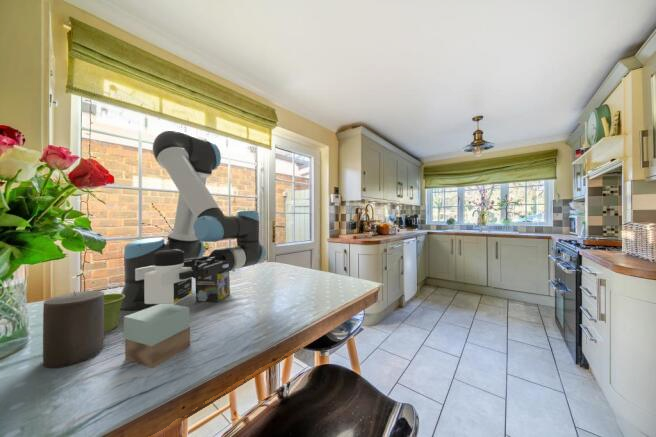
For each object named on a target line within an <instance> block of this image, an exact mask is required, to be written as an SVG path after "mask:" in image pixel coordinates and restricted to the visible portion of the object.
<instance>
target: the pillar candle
mask: <svg viewBox="0 0 656 437" xmlns="http://www.w3.org/2000/svg"><path fill="white" fill-rule="evenodd" d="M104 295H105V291H100V290H84V291H83V290H82V291H75V290H74V291H73V292H69V293H66V294H60V295H56V296H53V297H50V298H48V299H46V300H44V301H43V310H42V311H43V313H42V318H43V319H42V322H43V323H42V360H43V361H42V362H43V363H42V366H43V367H44V368H48V369H49V368H52V369H55V368H57V369H58V368H64V367H65V368H66V367H68V366H72V365H76V364H79V363H82V362H84V361H87V360H89V359H91V358H93V357H95V356H97V355H98V354H100V353H101V352H102V351H103V349H104V348H105V343H104V342H105V340H104V339H105V336H104V335H105V334H104V333H105V332H104Z"/></svg>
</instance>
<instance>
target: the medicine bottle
mask: <svg viewBox="0 0 656 437" xmlns="http://www.w3.org/2000/svg"><path fill="white" fill-rule="evenodd" d="M182 266H184V252H183V251H181V250H177V249H172V250H162V251H158V252H156V253H155V254H154V269H156V270H155V271H151V272H148V273H145V274H144V303H145V304H174V305H176V304H177V303H179V302H180V301H182V300H184V299H186V298H187V297H189V296H191V295H192V294H193V288H192V286H193V282H192V281H193V278H192V279H188V280H184V281H180V282H177V283H173V284H169V285H166V286H162V273H165V272H170V271H174V270H179V269H184V268H188V267H182Z"/></svg>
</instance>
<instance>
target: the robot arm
mask: <svg viewBox="0 0 656 437" xmlns="http://www.w3.org/2000/svg"><path fill="white" fill-rule="evenodd" d="M152 154H153V156H154V159H155V160H156V162H157V164H158V165H159V166H160V167H161V168H163V169H165V170H166V172H167V174H168V175H169V177H170V179H171V180H172V182H173V184H174V185H175V187H176V189H177V190H178V192H179V193H178V199H177V205H176V210H175V211H176V212H175V218H174V224H173V230H172V231H170V232H169V233H168V234H167V238H166V240H165V239H164V238H163V237H151V238H142V239H137V240H133V241H130V242H128V243H127V244H125V245H124V253H123V259H124V261H123V262H124V264H123V265H124V266H123V267H124V285H123V289H122V291H121V293H120V294H124V295H125V298H123V302H122V303H121V308H120V310H125V311H135V310H144V309H147V308H150V307H152V306H155V305H158V304H145V303H144V274H145V273H148V272H151V271H155V270H156V269H154V254H155V253H156V252H158V251H162V250H172V249H177V250H181V251H183V252H184V266H182V267H188V268H184V269H179V270H174V271H170V272H165V273H162V286H166V285H169V284H173V283H177V282H180V281H184V280H188V279H192V280H193V279H195V278H198V277H200V276H201V278H202V279H204V278H206V277H209V276H211V275H214V274H222V273H226V272H229V273H230V272H231V271H232V272H236V270H238V269H239V270H240V269H243V268H244V267H250V266H255V265H257V264H259V263H261V262H262V261H263V260H264V259H265V257H266V255H267V253H266V252H267V251H266V248H265V246H264V245H263V244H262V243H261V242H260V215H259V212H258V210H237V211H236V215H225V214H224V212H223V211H222V210H221V208H220V207H219V205H218V203H217V202H216V200H215V199H214V197H213V196H212V194H211V192H210V190H209V189H208V188H207V186H206V182H207V178H209V177H210V176H212V173H213V171H215V170H216V169H218V167H219V166H220V164H221V162H222V156H221V151H220V148H219V147H218V146H217V144H216V143H215V142H213V141H211V140H208V139H207V138H204V137H200V136H196V135H195V134H194V135H193V134H190V133H187V132H184V131H181V130H178V129H168V130H164V131H162V132H161V133H159V134H157V136H156V137H155V138H154V141H153V143H152ZM228 240H236V245H235V246H228V247H223V248H217V249H214V250H212V251H211V252H210V254H209V256H208V255H206V256H205V255H204V254H205V246H204V243H215V242H216V243H217V242H220V241H228Z"/></svg>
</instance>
